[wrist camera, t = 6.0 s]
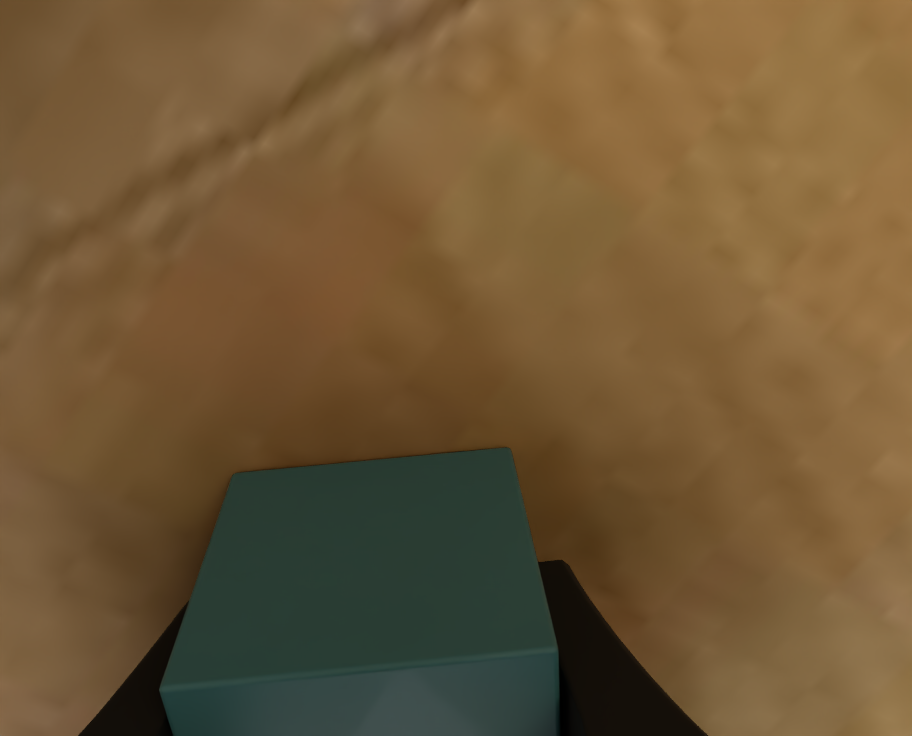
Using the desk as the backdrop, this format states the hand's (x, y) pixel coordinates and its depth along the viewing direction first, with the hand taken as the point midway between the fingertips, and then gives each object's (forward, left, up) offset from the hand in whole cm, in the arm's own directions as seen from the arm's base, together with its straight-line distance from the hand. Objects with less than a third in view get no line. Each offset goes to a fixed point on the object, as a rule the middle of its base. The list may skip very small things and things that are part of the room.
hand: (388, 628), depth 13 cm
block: (0, 0, -1) cm, 1 cm away
